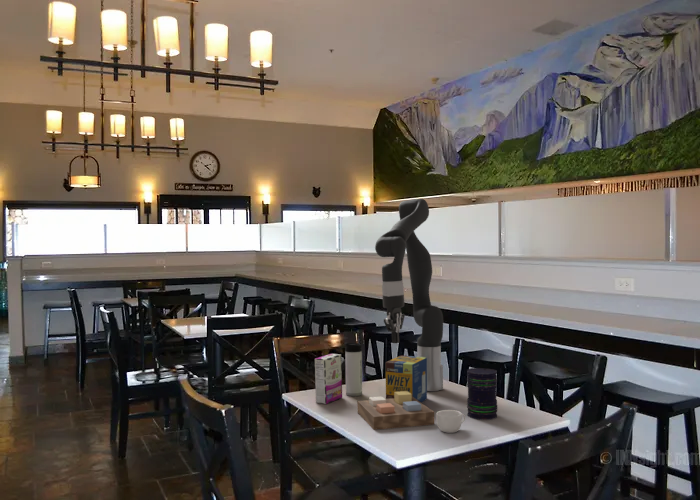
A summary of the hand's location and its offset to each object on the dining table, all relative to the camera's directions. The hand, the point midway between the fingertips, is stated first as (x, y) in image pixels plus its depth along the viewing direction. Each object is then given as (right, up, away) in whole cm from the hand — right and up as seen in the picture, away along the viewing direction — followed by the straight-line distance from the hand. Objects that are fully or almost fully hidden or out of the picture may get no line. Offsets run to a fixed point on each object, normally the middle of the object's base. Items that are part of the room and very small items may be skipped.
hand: (395, 342), depth 212 cm
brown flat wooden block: (-1, -23, -13) cm, 26 cm away
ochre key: (+2, -20, -8) cm, 21 cm away
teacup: (+15, -23, -27) cm, 38 cm away
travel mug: (-15, -23, +20) cm, 34 cm away
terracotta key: (-5, -21, -19) cm, 29 cm away
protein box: (+5, -23, +8) cm, 25 cm away
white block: (-7, -21, -10) cm, 24 cm away
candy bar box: (-24, -23, +11) cm, 35 cm away
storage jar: (+28, -23, -11) cm, 38 cm away
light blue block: (+4, -21, -16) cm, 27 cm away
